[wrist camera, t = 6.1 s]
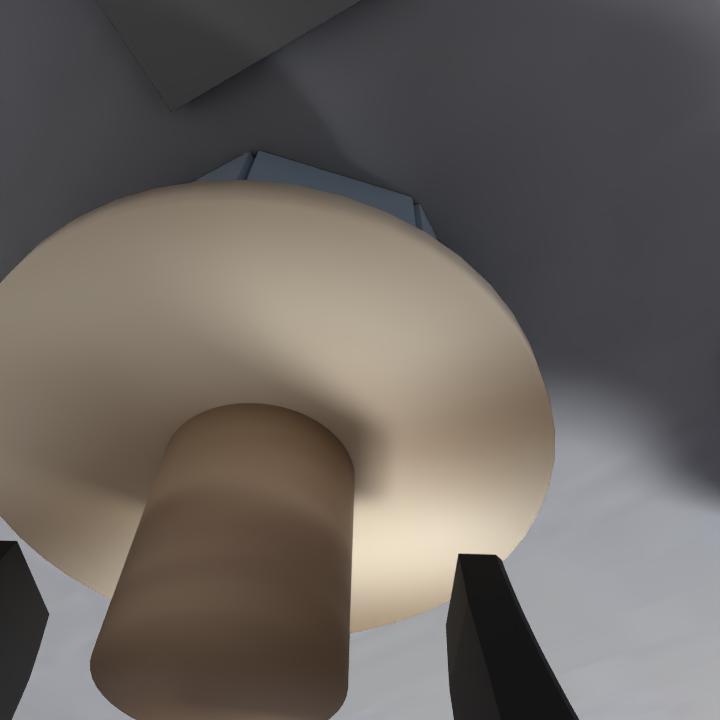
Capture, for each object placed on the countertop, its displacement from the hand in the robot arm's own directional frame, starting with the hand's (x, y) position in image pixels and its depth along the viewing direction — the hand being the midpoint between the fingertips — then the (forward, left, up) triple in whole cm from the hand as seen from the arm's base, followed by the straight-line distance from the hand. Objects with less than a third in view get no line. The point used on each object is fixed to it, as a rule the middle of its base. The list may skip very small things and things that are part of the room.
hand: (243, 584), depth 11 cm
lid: (0, 0, -3) cm, 3 cm away
